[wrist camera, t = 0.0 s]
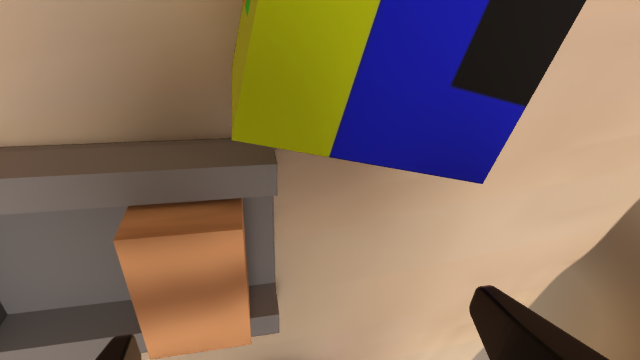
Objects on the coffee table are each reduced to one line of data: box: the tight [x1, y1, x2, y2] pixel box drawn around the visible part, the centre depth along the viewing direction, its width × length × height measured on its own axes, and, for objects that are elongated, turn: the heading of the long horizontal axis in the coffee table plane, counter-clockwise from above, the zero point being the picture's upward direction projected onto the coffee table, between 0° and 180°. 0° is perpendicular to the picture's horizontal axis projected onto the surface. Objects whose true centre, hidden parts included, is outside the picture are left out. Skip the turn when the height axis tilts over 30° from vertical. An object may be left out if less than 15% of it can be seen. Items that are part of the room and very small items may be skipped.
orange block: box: [113, 198, 251, 359], centre depth 22 cm, size 9×6×5 cm, turn 177°
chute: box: [0, 138, 279, 360], centre depth 22 cm, size 14×20×4 cm
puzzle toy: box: [232, 0, 586, 184], centre depth 15 cm, size 10×10×10 cm
